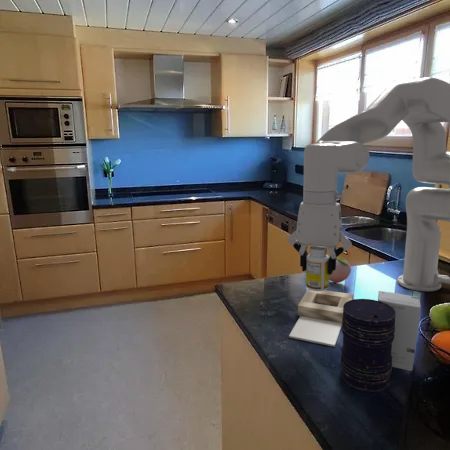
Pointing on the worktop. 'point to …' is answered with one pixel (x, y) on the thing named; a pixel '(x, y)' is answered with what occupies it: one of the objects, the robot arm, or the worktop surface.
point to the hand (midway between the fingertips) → (317, 270)
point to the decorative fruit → (340, 271)
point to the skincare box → (403, 327)
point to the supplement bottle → (317, 269)
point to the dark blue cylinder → (367, 344)
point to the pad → (316, 331)
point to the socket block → (320, 311)
